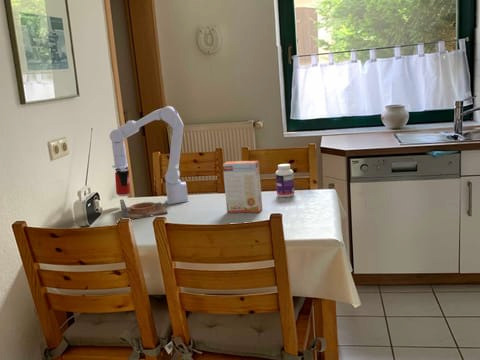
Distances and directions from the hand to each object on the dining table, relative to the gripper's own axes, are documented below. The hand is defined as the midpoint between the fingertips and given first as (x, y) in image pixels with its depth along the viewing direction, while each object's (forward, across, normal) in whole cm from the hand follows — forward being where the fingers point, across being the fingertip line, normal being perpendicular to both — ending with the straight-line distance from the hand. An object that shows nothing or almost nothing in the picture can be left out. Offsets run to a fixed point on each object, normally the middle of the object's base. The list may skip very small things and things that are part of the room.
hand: (123, 184), depth 234 cm
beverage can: (+5, 0, -1) cm, 5 cm away
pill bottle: (+11, +27, +69) cm, 75 cm away
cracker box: (+11, +40, +45) cm, 61 cm away
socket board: (+10, +16, +6) cm, 20 cm away
